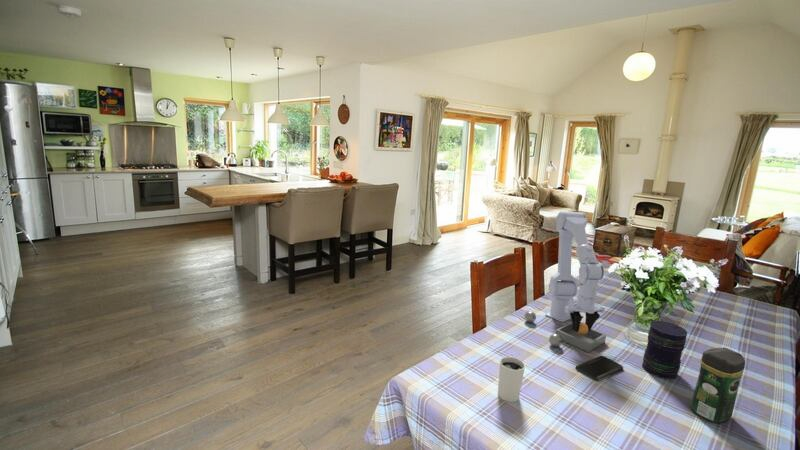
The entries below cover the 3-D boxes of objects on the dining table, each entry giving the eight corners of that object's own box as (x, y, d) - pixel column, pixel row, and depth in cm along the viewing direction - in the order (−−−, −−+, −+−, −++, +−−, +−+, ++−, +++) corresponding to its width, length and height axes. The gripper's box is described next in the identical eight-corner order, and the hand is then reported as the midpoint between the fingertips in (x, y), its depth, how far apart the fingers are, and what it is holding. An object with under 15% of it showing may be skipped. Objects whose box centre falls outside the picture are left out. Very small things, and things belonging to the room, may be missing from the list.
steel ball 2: (552, 341, 141) (554, 330, 140) (563, 346, 137) (565, 335, 136) (545, 345, 138) (547, 333, 137) (557, 350, 135) (559, 339, 134)
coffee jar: (703, 400, 112) (718, 341, 108) (736, 418, 105) (753, 356, 101) (683, 408, 108) (698, 347, 104) (715, 427, 101) (733, 363, 97)
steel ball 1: (527, 318, 158) (529, 308, 157) (537, 322, 155) (538, 312, 154) (521, 321, 156) (522, 311, 155) (531, 325, 152) (532, 315, 151)
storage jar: (660, 381, 120) (670, 337, 117) (634, 363, 129) (642, 322, 126) (685, 377, 123) (695, 334, 120) (657, 360, 132) (666, 319, 129)
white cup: (502, 384, 114) (506, 354, 112) (524, 394, 110) (528, 363, 108) (492, 395, 109) (495, 363, 107) (514, 406, 105) (519, 373, 103)
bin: (571, 328, 152) (572, 321, 151) (604, 342, 142) (606, 334, 141) (554, 337, 144) (555, 329, 143) (588, 353, 134) (589, 344, 134)
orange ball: (577, 330, 145) (579, 319, 144) (589, 334, 142) (591, 323, 141) (572, 333, 143) (573, 322, 142) (583, 338, 139) (585, 326, 138)
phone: (625, 367, 125) (596, 379, 118) (624, 370, 126) (596, 382, 118) (602, 355, 132) (573, 366, 124) (601, 358, 132) (573, 369, 125)
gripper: (575, 300, 134) (569, 336, 137) (612, 299, 136) (606, 335, 139) (563, 292, 141) (558, 326, 144) (599, 292, 143) (593, 325, 146)
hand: (581, 330), depth 142 cm, fingers closed on orange ball, 4 cm apart
